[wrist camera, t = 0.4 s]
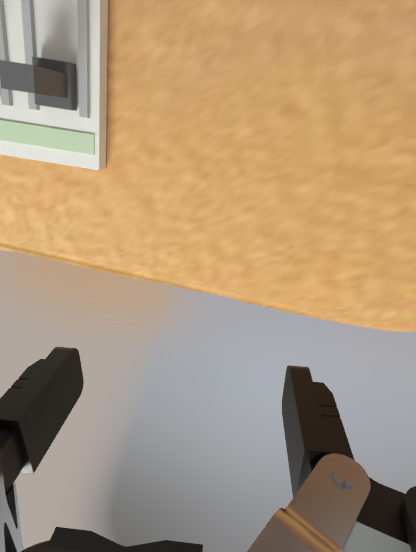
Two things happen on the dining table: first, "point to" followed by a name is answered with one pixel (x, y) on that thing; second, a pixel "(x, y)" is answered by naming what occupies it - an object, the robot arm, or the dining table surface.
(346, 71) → the dining table surface
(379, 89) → the dining table surface
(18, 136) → the panel
